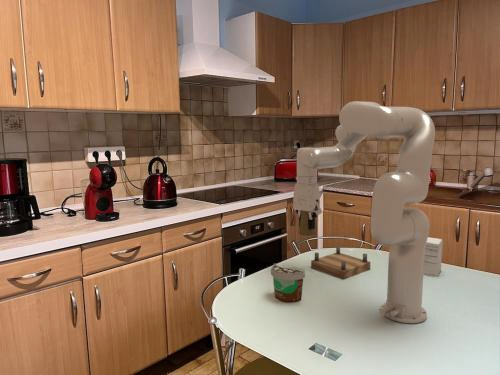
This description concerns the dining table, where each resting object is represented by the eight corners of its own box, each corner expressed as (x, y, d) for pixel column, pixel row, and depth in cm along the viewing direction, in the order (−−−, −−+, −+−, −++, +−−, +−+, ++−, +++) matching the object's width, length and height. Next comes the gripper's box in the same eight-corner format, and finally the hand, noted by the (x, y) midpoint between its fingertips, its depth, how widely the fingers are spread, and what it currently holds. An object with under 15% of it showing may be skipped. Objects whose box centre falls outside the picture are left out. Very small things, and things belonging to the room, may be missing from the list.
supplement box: (420, 267, 154) (422, 236, 152) (441, 271, 149) (443, 239, 147) (416, 273, 148) (417, 240, 146) (437, 277, 143) (439, 243, 142)
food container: (262, 297, 129) (262, 267, 127) (274, 291, 133) (274, 262, 132) (293, 308, 120) (293, 276, 119) (305, 301, 125) (305, 271, 123)
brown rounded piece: (303, 230, 155) (303, 203, 153) (317, 233, 151) (317, 204, 150) (295, 234, 150) (295, 205, 149) (309, 236, 146) (309, 207, 145)
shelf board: (343, 279, 143) (344, 263, 142) (311, 267, 155) (311, 253, 154) (370, 269, 152) (370, 254, 151) (337, 259, 165) (337, 245, 164)
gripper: (284, 179, 152) (284, 226, 154) (317, 183, 139) (317, 234, 142) (297, 178, 156) (297, 223, 159) (331, 181, 144) (330, 230, 146)
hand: (307, 227), depth 150 cm, fingers closed on brown rounded piece, 3 cm apart
